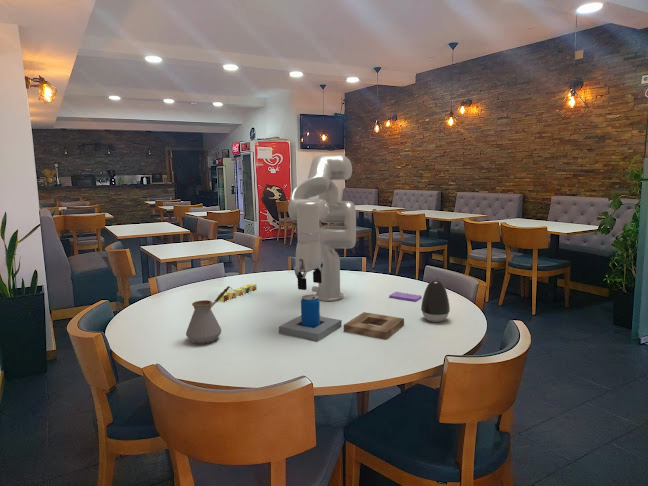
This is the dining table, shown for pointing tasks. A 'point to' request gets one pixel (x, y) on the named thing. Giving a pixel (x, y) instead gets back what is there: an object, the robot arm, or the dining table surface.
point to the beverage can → (310, 311)
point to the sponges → (405, 296)
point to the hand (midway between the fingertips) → (310, 286)
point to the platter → (238, 292)
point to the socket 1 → (316, 333)
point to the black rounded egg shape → (435, 302)
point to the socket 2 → (363, 328)
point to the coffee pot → (204, 322)
